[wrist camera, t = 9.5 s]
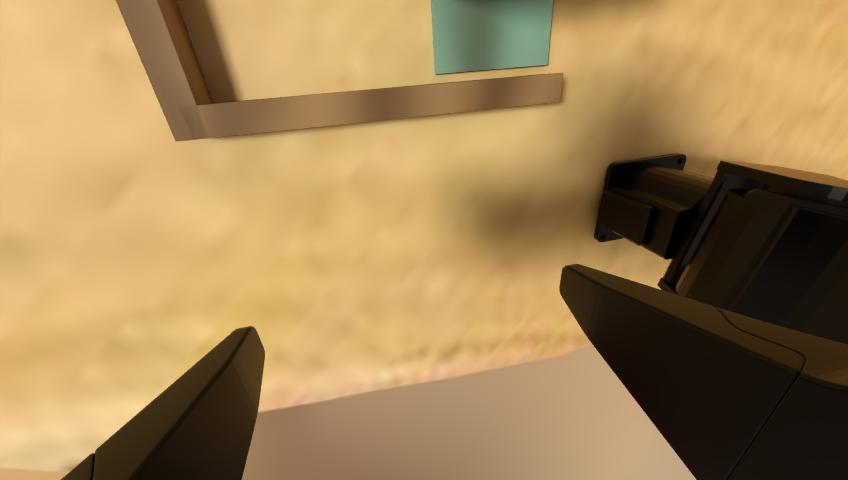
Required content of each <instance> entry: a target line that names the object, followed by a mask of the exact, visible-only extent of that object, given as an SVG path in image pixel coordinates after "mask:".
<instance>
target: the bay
mask: <svg viewBox="0 0 848 480" xmlns="http://www.w3.org/2000/svg"><path fill="white" fill-rule="evenodd" d="M116 2H117V4H118V7H119V9H120V12H121V14H122V16H123V19H124V21H125V23H126V26H127V28H128V30H129V33H130V35H131V37H132V40H133V42H134V44H135V47H136V49H137V52H138V54H139V56H140V59H141V61H142V63H143V66H144V68H145V70H146V73H147V75H148V77H149V80H150V82H151V84H152V87H153V89H154V91H155V94H156V96H157V99H158V101H159V103H160V106H161V108H162V110H163V113H164V115H165V117H166V120H167V122H168V124H169V127H170V129H171V131H172V134H173V136H174V138H175V141H186V140H195V139H205V138H215V137H224V136H234V135H244V134H253V133H263V132H272V131H282V130H292V129H301V128H311V127H321V126H330V125H340V124H350V123H359V122H369V121H379V120H388V119H398V118H408V117H417V116H427V115H436V114H446V113H456V112H465V111H475V110H485V109H494V108H504V107H514V106H523V105H533V104H543V103H552V102H560V95H561V87H562V78H563V73H556V74H540V75H529V76H517V77H506V78H495V79H483V80H472V81H461V82H449V83H438V84H427V85H416V86H404V87H393V88H382V89H370V90H359V91H348V92H336V93H325V94H314V95H302V96H291V97H280V98H268V99H257V100H246V101H234V102H223V103H212V100H211V97H210V95H209V92H208V89H207V86H206V83H205V81H204V78H203V75H202V72H201V69H200V66H199V64H198V61H197V58H196V55H195V52H194V49H193V47H192V44H191V41H190V38H189V35H188V32H187V30H186V27H185V24H184V21H183V18H182V16H181V13H180V10H179V7H178V4H177V1H176V0H116ZM431 8H432V27H433V46H434V65H435V74H443V73H455V72H467V71H479V70H491V69H503V68H515V67H527V66H539V65H547V64H548V53H549V42H550V31H551V20H552V9H553V0H431Z"/></svg>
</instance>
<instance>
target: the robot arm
mask: <svg viewBox="0 0 848 480" xmlns="http://www.w3.org/2000/svg"><path fill="white" fill-rule="evenodd" d="M685 162H686V156H685V155H683V154H678V153H677V154H670V155H663V156H656V157H649V158H642V159H635V160H627V161H620V162H614V163H611V164H610V165H609V167H608V169H607V173H606V178H605V183H604V188H603V193H602V198H601V204H600V209H599V214H598V219H597V224H596V229H595V234H594V238H595V239H596V240H597V241H599V242H605V241H611V240H616V239H622V238H625V239H627V240H629V241H631V242H632V243H634V244H636V245H639V246H642V247H644V248H646V249H648V250H649V251H651V252H653V253H655V254H657V255H658V256H660V257H662V258H664V259H670V260H672V261H671V263H670V265H669V267H668V269H667V271H666V273H665V274H664V276H663V278H661V279H660V281H659V283H658V286H659V287H660V288H661V289H662V290H660V289H656V288H653V287H650V286H647V285H644V284H640V283H637V282H634V281H631V280H628V279H624V278H621V277H618V276H615V275H612V274H608V273H605V272H602V271H599V270H596V269H592V268H589V267H586V266H583V265H580V264H572V265H567V266H565V267H563V269H562V274H561V281H560V294H561V296H562V298H563V299H564V301H565V303H566V304H567V306H568V307H569V309H570V311H571V312H572V314H573V315H574V317H575V319H576V320H577V322H578V324H579V325H580V327H581V328H582V330H583V331H584V333H585V334H586V336H587V337H588V339H589V340H590V341H591V343H592V344H593V345H594V347H595V348H596V349H597V351H598V352H599V353H600V355H601V356H602V357H603V359H604V360H605V361H606V362H607V364H608V365H609V366H610V368H611V369H612V370H613V372H614V373H615V374H616V375H617V377H618V378H619V379H620V380H621V382H622V383H623V385H624V386H625V387H626V388H627V390H628V391H629V392H630V394H631V395H632V396H633V398H634V399H635V400H636V401H637V403H638V404H639V405H640V406H641V408H642V409H643V411H644V412H645V413H646V414H647V416H648V417H649V418H650V420H651V421H652V422H653V424H654V425H655V426H656V427H657V429H658V430H659V431H660V433H661V434H662V435H663V437H664V438H665V439H666V440H667V442H668V443H669V444H670V446H671V447H672V448H673V450H674V451H675V452H676V454H677V455H678V456H679V457H680V459H681V460H682V461H683V463H684V464H685V465H686V467H687V468H688V469H689V470H690V472H691V473H692V474H693V476H694V477H695V478H696V480H848V181H846V180H843V179H839V178H836V177H832V176H828V175H824V174H818V173H812V172H807V171H801V170H795V169H789V168H784V167H778V166H769V165H760V164H750V163H740V162H730V161H720V163H719V165H718V167H717V169H716V170H718V171H717V173H716V175H715V177H714V179H713V178H709V177H705V176H701V175H697V174H693V173H689V172H686V171H683V168H684V165H685ZM615 168H616V170H615V171H614V169H615ZM601 235H602V236H601ZM264 360H265V351H264V347H263V345H262V343H261V340H260V338H259V336H258V333H257V331H256V329H255V328H254V327H252V326H249V327H244V328H239V329H236V330H234V331H233V332H232V333H231V334H230V335H229V336H227V337H226V338H225V339H224V340H223V341H222V342H220V343H219V344H218V345H217V346H216V347H215V348H213V349H212V350H211V351H210V352H209V353H208V354H206V355H205V356H204V357H203V358H202V359H201V360H199V361H198V362H197V363H196V364H195V365H194V366H193V367H191V368H190V369H189V370H188V371H187V372H186V373H184V374H183V375H182V376H181V377H180V378H179V379H177V380H176V381H175V382H174V383H173V384H172V385H170V386H169V387H168V388H167V389H166V390H165V391H163V392H162V393H161V394H160V395H159V396H158V397H157V398H155V399H154V400H153V401H152V402H151V403H150V404H148V405H147V406H146V407H145V408H144V409H143V410H141V411H140V412H139V413H138V414H137V415H136V416H134V417H133V418H132V419H131V420H130V421H129V422H127V423H126V424H125V425H124V426H123V427H122V428H120V429H119V430H118V431H117V432H116V433H115V434H114V435H112V436H111V437H110V438H109V439H108V440H107V441H105V442H104V443H103V444H102V445H101V446H100V447H98V448H97V449H96V451H95V453H92V454H90V455H89V456H88V457H87V458H86V459H84V460H83V461H82V462H81V463H80V464H79V465H77V466H76V467H75V468H74V469H73V470H72V471H70V472H69V473H68V474H67V475H66V476H65V477H63V478H62V479H61V480H242V476H243V472H244V468H245V463H246V459H247V455H248V451H249V447H250V443H251V439H252V435H253V431H254V426H255V422H256V418H257V413H258V407H259V400H260V392H261V384H262V376H263V368H264Z"/></svg>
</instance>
